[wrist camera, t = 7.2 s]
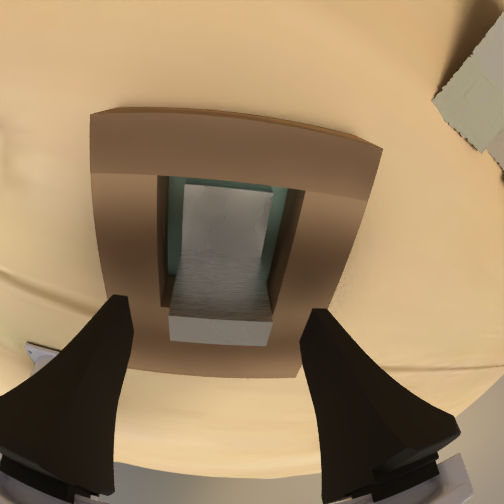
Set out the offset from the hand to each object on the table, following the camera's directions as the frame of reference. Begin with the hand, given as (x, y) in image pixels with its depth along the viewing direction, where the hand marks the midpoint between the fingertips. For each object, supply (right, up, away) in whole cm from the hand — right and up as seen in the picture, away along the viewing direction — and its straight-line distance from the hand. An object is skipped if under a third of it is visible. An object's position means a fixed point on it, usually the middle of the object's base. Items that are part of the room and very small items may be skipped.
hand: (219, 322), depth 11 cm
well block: (-1, +2, +6) cm, 6 cm away
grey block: (0, +4, +4) cm, 6 cm away
